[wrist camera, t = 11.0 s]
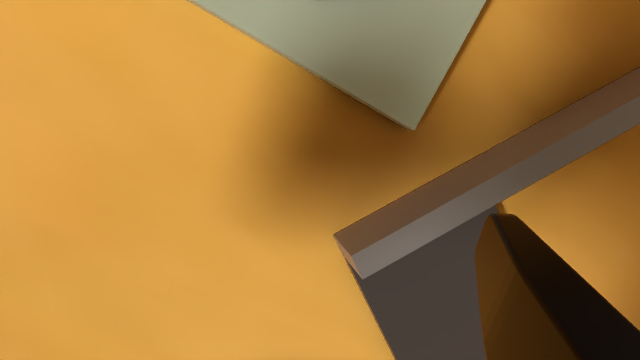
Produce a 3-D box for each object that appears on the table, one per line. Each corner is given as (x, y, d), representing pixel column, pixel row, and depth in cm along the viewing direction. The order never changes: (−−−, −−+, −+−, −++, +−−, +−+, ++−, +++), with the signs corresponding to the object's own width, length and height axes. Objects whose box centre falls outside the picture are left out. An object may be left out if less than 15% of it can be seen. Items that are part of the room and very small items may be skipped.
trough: (456, 483, 23) (485, 529, 21) (332, 234, 19) (350, 256, 17) (738, 304, 25) (794, 327, 23) (675, 47, 21) (735, 42, 19)
